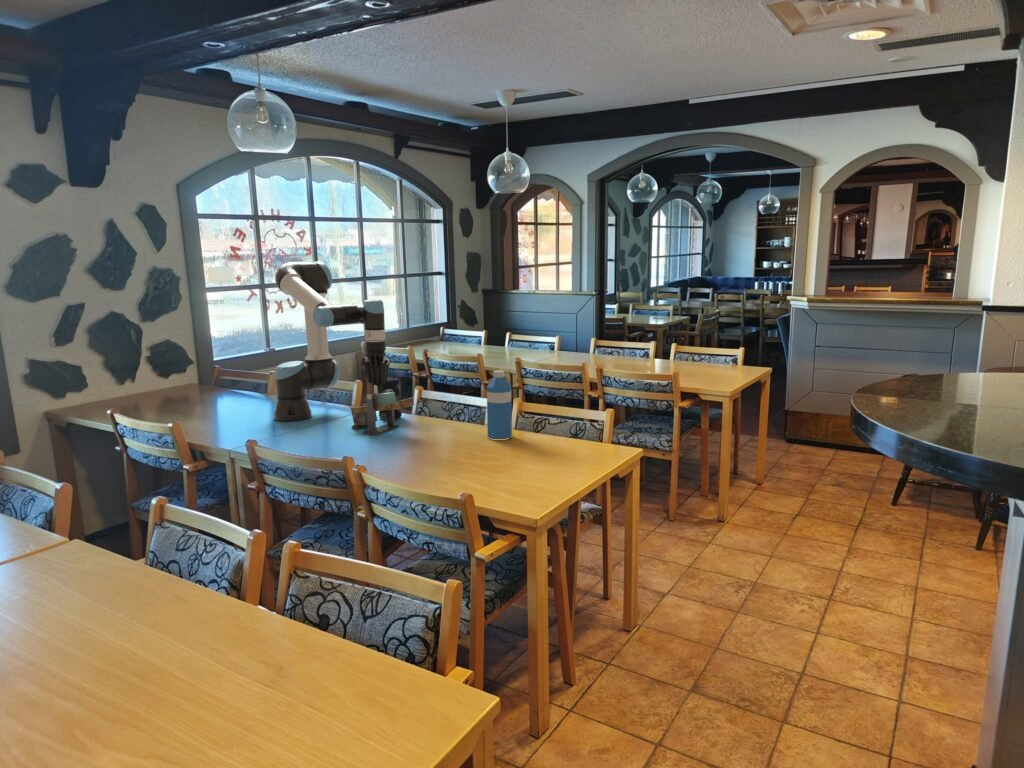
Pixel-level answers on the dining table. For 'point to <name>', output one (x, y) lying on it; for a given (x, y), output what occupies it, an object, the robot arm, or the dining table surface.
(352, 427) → the stop pad
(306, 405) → the robot arm
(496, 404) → the water bottle
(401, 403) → the beam
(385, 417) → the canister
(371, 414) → the pivot frame
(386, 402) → the rider
